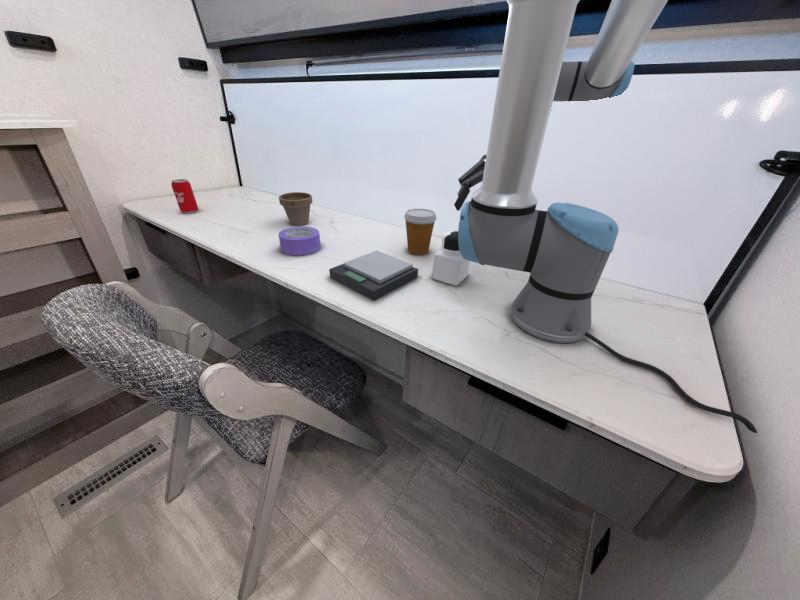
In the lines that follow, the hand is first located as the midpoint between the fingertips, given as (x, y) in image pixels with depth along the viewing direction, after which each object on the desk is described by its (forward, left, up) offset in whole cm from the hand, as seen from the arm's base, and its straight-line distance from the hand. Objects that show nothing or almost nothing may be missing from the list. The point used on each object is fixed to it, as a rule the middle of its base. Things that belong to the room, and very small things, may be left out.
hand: (478, 213), depth 79 cm
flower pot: (+65, +14, -15) cm, 68 cm away
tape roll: (+44, +27, -15) cm, 54 cm away
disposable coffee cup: (+17, +3, -15) cm, 23 cm away
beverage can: (+107, +37, -15) cm, 114 cm away
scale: (+14, +25, -15) cm, 32 cm away
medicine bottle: (0, +11, -15) cm, 18 cm away
